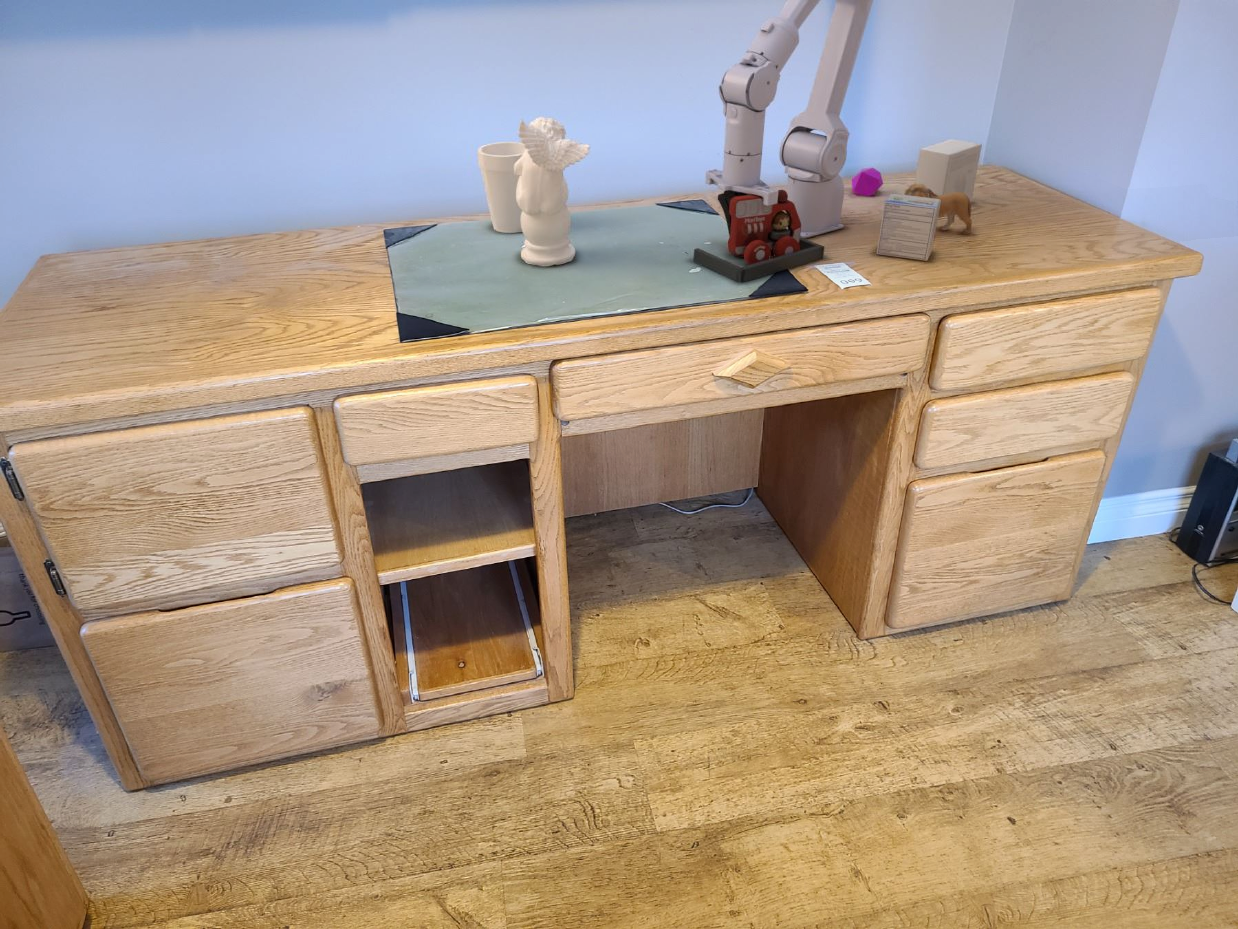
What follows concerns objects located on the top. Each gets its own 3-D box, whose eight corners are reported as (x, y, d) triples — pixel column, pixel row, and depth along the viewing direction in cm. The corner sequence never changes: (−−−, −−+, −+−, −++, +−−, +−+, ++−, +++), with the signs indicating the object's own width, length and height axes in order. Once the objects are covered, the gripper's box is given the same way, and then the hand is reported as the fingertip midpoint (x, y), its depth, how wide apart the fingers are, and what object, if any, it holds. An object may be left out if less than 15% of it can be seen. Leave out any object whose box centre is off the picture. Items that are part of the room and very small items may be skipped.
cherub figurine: (542, 241, 147) (534, 100, 135) (609, 253, 142) (607, 107, 130) (502, 266, 138) (490, 117, 126) (573, 279, 133) (567, 125, 121)
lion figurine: (909, 245, 145) (919, 189, 140) (888, 235, 149) (897, 180, 144) (980, 233, 150) (992, 178, 145) (958, 223, 154) (969, 170, 149)
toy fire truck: (809, 260, 139) (816, 193, 134) (738, 272, 135) (743, 203, 130) (785, 246, 145) (792, 181, 139) (717, 257, 141) (721, 190, 135)
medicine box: (931, 253, 142) (942, 198, 137) (927, 262, 138) (937, 206, 134) (881, 246, 145) (890, 192, 140) (875, 255, 141) (884, 200, 136)
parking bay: (774, 239, 148) (775, 227, 146) (823, 258, 140) (824, 246, 139) (693, 261, 139) (693, 248, 138) (740, 283, 132) (741, 270, 131)
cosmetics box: (940, 195, 167) (951, 137, 161) (971, 202, 163) (984, 143, 157) (908, 206, 161) (918, 147, 156) (940, 215, 157) (952, 154, 152)
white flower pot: (550, 223, 155) (546, 146, 147) (517, 239, 148) (511, 159, 141) (506, 214, 159) (501, 139, 152) (473, 229, 152) (465, 151, 145)
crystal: (883, 196, 167) (886, 171, 164) (854, 197, 166) (858, 172, 164) (874, 188, 171) (878, 163, 169) (846, 189, 171) (850, 164, 168)
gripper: (692, 145, 138) (688, 231, 145) (756, 165, 128) (748, 257, 135) (726, 138, 141) (721, 223, 149) (791, 158, 131) (782, 247, 139)
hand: (737, 238), depth 142 cm, fingers closed
